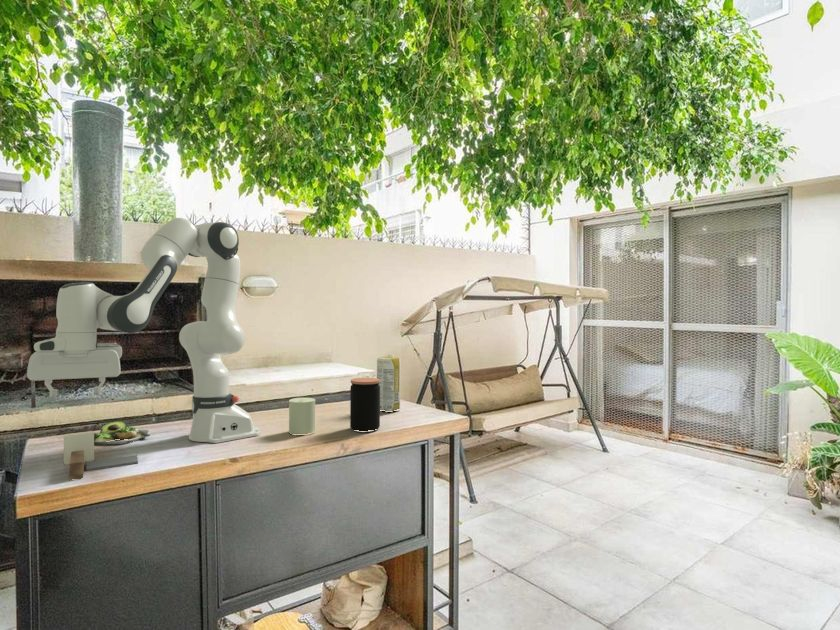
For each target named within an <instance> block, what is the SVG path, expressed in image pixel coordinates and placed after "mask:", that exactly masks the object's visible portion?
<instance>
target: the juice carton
mask: <svg viewBox="0 0 840 630" xmlns="http://www.w3.org/2000/svg"><path fill="white" fill-rule="evenodd" d="M394 356H395V354H389V353H388V355H386V356H379V357H377V358H376V378H377V379H380V383H379V386H380V410H385V411H394V410H397V409H401V357H394Z"/></svg>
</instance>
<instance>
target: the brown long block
mask: <svg viewBox="0 0 840 630" xmlns="http://www.w3.org/2000/svg"><path fill="white" fill-rule="evenodd" d="M68 465H69V466H68V468H69V472H68V473H69V475H68V476H69V481H70V480H71V481H73V480H72V479H78V480H82V479H81V478H83V479H84V472H85V471H84V469H85V462H84V450H82V451H74V452H71V457H70V463H69V464H68Z"/></svg>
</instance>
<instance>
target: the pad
mask: <svg viewBox="0 0 840 630" xmlns="http://www.w3.org/2000/svg"><path fill="white" fill-rule="evenodd" d="M138 464H139V458H138V454H134V455H132V454H131V455H127V456H125V455H124V456H119V457H111V458H104V459H103V458H102V459H97V460H96V459H94V461H87V462H86V468H85V469H86V471H87V470H89V471H95V470H94V469H96V470H101V469H100V468H103V469H107V468H106V467H110V468H114V467H113V466H117V467H124V466H129V465H138ZM87 472H88V471H87Z"/></svg>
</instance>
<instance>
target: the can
mask: <svg viewBox="0 0 840 630" xmlns="http://www.w3.org/2000/svg"><path fill="white" fill-rule="evenodd" d="M288 410H289V411H288V412H289V413H288V416H289V417H288V434H289V433H291V434H308V433H312V432H314V431H316V398H313V397H295V398H291V399H289V400H288Z"/></svg>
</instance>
